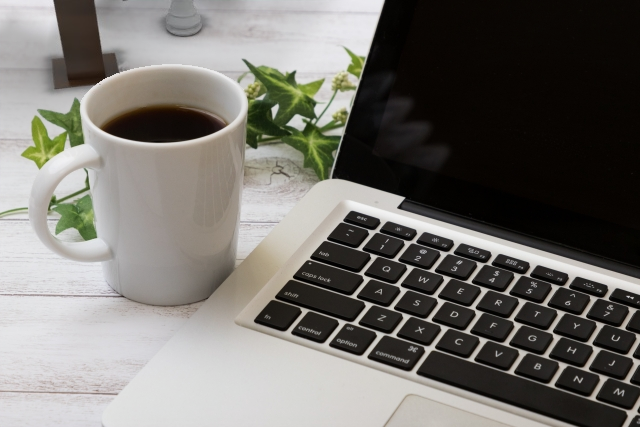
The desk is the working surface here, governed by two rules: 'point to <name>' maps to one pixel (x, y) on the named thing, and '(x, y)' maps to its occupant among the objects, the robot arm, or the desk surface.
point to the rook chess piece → (183, 18)
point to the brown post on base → (80, 46)
